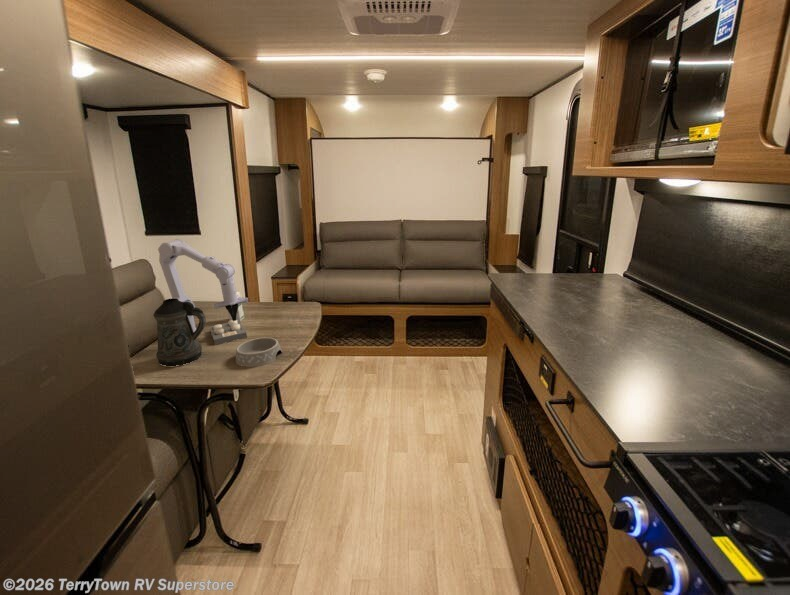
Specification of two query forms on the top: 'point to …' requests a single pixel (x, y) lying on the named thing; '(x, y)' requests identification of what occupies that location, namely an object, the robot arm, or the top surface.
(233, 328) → the button front right
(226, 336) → the button board
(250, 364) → the dog bowl
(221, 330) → the button front left
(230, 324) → the button back right
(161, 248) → the robot arm
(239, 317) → the syrup box
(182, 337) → the beer stein
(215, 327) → the button back left
